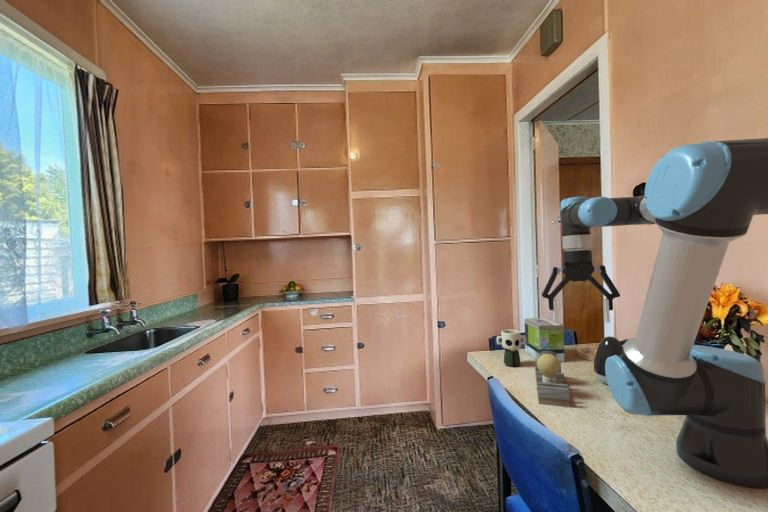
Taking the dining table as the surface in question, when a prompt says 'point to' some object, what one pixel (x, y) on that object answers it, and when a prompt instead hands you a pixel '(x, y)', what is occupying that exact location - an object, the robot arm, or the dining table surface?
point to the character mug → (511, 346)
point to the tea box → (544, 337)
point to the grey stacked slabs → (552, 387)
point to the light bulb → (548, 367)
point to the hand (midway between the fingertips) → (580, 321)
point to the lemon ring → (584, 355)
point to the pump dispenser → (606, 355)
